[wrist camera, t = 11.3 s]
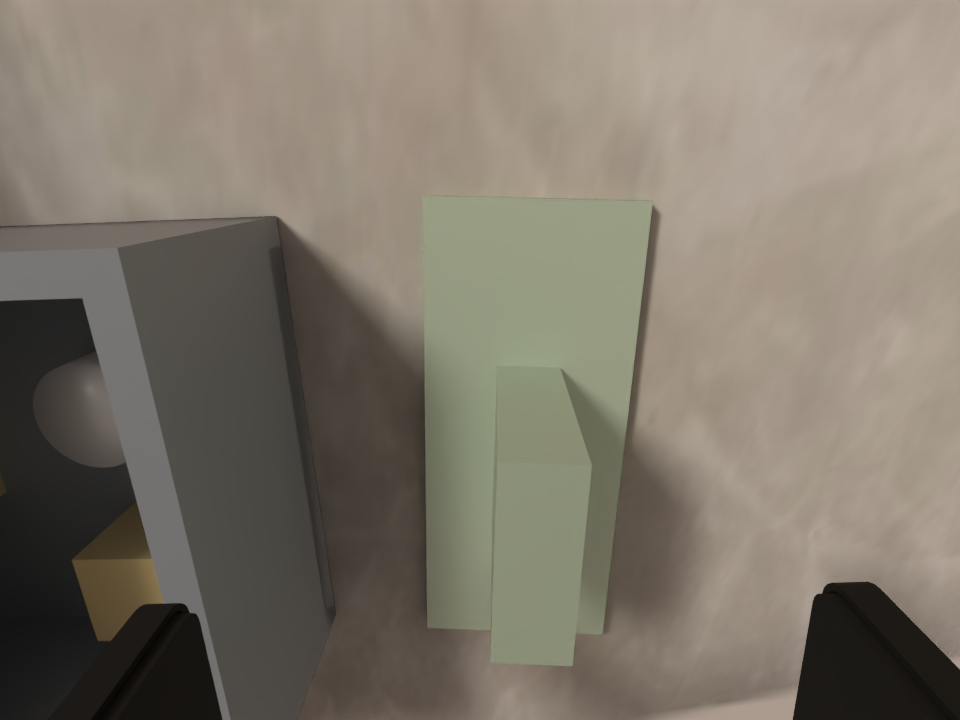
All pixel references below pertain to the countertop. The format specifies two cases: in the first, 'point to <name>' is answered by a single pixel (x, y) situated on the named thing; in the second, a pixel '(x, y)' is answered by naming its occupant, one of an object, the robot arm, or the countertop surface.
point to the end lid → (527, 412)
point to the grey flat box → (155, 458)
